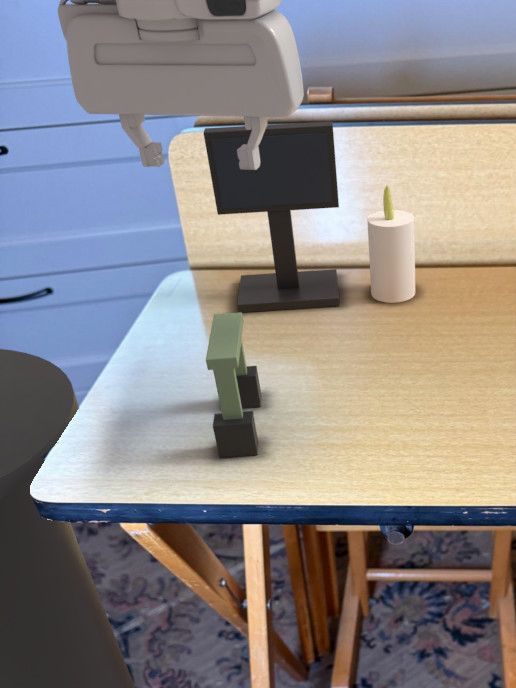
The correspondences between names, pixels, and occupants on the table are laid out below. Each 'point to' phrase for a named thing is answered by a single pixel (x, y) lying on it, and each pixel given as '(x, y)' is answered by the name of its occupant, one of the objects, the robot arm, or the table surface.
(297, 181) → the monitor
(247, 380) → the headphones
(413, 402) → the table surface
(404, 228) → the candle
